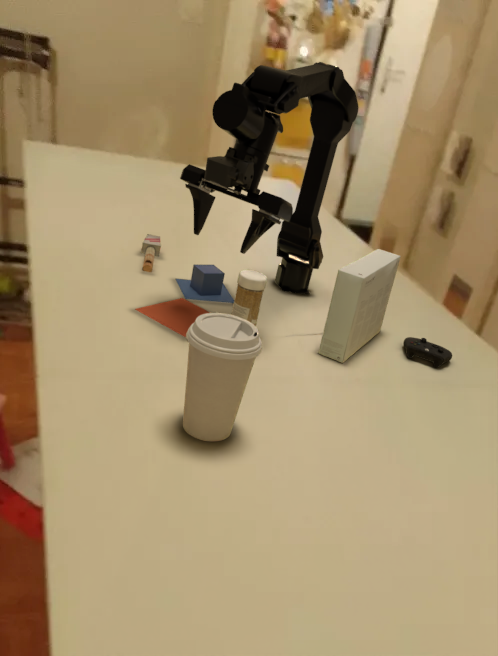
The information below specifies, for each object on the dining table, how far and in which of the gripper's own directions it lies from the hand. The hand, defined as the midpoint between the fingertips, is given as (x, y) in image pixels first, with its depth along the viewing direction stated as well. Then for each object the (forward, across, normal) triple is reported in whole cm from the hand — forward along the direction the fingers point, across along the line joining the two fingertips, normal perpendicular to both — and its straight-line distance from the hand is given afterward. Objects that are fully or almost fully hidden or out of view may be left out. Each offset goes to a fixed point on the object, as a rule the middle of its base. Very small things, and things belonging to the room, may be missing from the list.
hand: (218, 243), depth 111 cm
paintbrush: (+8, -27, +23) cm, 36 cm away
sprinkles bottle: (+15, +9, +2) cm, 18 cm away
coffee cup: (+23, +19, -21) cm, 36 cm away
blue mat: (+10, -9, +18) cm, 22 cm away
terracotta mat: (+14, -4, +4) cm, 16 cm away
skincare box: (+8, +20, +23) cm, 32 cm away
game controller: (+6, +34, +30) cm, 45 cm away
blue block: (+10, -9, +17) cm, 22 cm away
